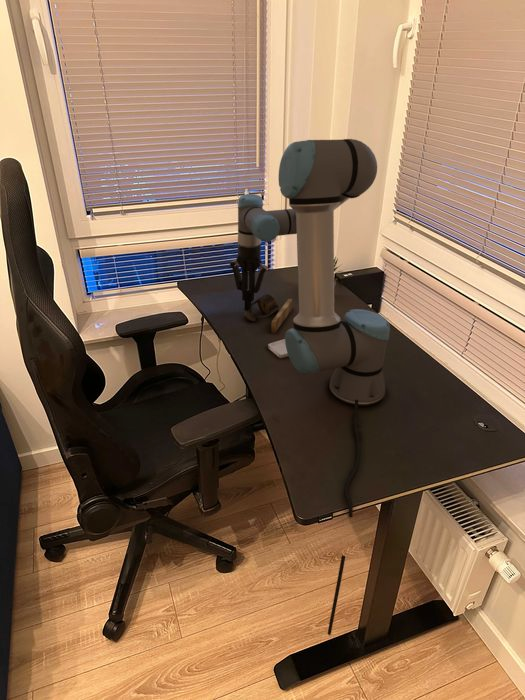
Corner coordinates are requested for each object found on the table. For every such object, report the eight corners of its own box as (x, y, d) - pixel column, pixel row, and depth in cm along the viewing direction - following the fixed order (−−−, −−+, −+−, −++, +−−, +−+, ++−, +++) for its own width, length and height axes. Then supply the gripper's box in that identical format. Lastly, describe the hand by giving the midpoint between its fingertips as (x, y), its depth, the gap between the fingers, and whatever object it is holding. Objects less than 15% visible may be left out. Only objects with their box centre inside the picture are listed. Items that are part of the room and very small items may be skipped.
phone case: (305, 335, 164) (267, 347, 156) (306, 332, 163) (267, 343, 156) (319, 346, 158) (280, 358, 151) (320, 342, 158) (280, 355, 151)
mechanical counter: (286, 306, 169) (276, 288, 176) (250, 307, 165) (242, 289, 171) (281, 322, 174) (272, 304, 181) (247, 324, 169) (238, 305, 176)
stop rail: (275, 332, 165) (275, 322, 162) (271, 332, 165) (271, 321, 163) (291, 309, 179) (292, 299, 177) (288, 308, 179) (288, 298, 177)
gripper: (272, 243, 163) (268, 308, 176) (235, 237, 167) (234, 301, 179) (264, 251, 157) (261, 317, 170) (226, 244, 161) (226, 310, 173)
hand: (247, 309), depth 174 cm, fingers closed
